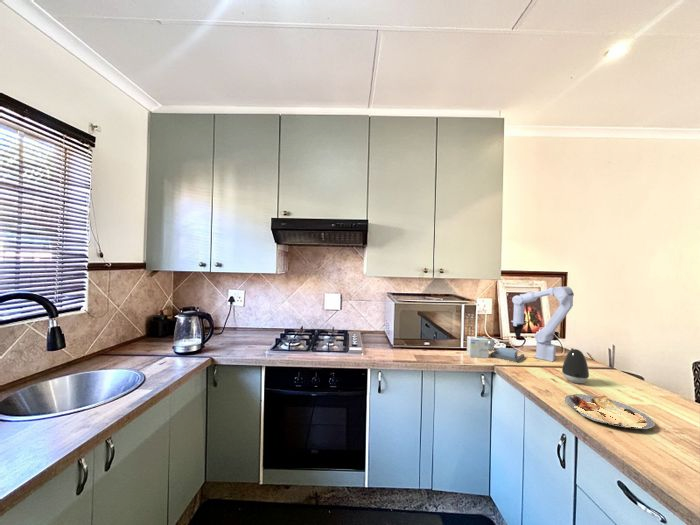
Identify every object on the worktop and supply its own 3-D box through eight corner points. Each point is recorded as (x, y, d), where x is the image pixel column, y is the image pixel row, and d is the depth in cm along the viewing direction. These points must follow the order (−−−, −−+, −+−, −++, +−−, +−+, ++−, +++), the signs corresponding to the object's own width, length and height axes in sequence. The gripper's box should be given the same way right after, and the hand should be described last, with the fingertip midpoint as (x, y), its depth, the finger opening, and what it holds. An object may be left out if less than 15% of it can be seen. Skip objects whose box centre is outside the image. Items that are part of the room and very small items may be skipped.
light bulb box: (484, 354, 183) (485, 336, 183) (488, 358, 177) (489, 339, 177) (466, 353, 184) (466, 335, 184) (469, 357, 177) (470, 338, 177)
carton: (517, 358, 180) (517, 350, 180) (514, 361, 174) (514, 353, 174) (500, 354, 186) (500, 347, 186) (497, 357, 179) (497, 349, 179)
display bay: (524, 357, 180) (524, 354, 180) (517, 362, 170) (517, 359, 170) (498, 352, 189) (498, 348, 189) (490, 356, 180) (490, 353, 180)
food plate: (553, 396, 127) (553, 388, 127) (614, 401, 125) (614, 393, 125) (594, 431, 102) (595, 421, 102) (672, 438, 100) (673, 428, 100)
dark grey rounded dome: (583, 379, 148) (584, 347, 148) (592, 387, 138) (593, 353, 138) (558, 375, 152) (559, 345, 152) (565, 383, 142) (567, 350, 142)
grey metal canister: (495, 349, 196) (495, 340, 196) (492, 351, 192) (493, 341, 192) (487, 347, 199) (487, 338, 199) (484, 349, 195) (484, 339, 195)
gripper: (514, 312, 201) (514, 333, 201) (508, 314, 190) (507, 336, 191) (527, 314, 196) (526, 335, 196) (520, 316, 186) (520, 339, 186)
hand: (517, 336), depth 193 cm, fingers closed
